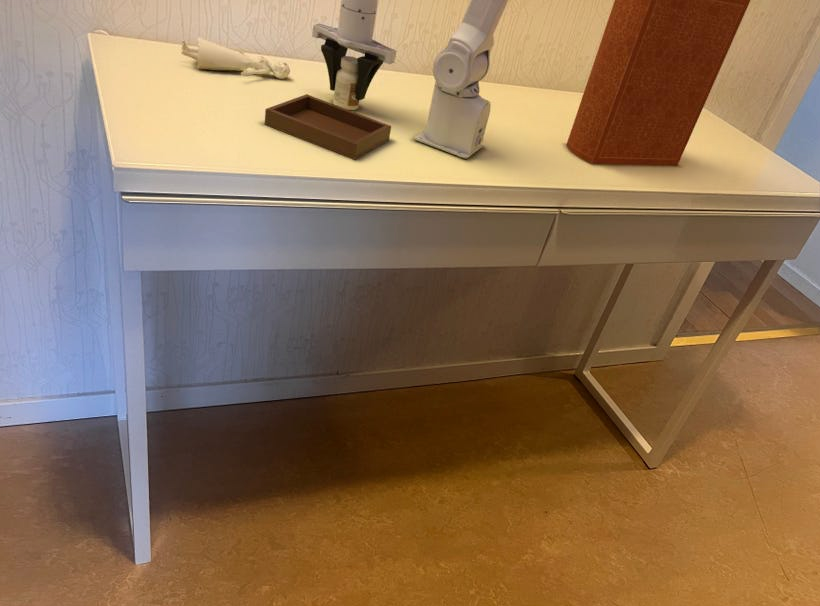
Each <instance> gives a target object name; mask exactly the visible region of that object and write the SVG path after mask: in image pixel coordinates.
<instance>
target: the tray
mask: <svg viewBox="0 0 820 606" xmlns="http://www.w3.org/2000/svg"><path fill="white" fill-rule="evenodd" d="M264 111H265V114H264V125H265V126H267V127H270V128H273V129H276V130H277V131H280V132H283V133H286V134H288V135H291V136H292V137H296V138H298V139H301V140H303V141H306V142H308V143H310V144H314V145H317V146H319V147H321V148H324V149H326V150H329V151H331V152H334V153H337V154H339V155H342V156H344V157H347V158H349V159H352V160H357V159H358V158H360V157H362V156H363V155H365V154H367V153H369V152H371V151H373V150H374V149H376V148H379V147H380V146H382V145H383V144H385V143H387V142H389V141H390V138H391V137H390V136H391V131H392V125H390V124H387V123H384V122H382V121H380V120H377V119H374V118H371V117H369V116H366V115H363V114H361V113H358V112H355V111H354V110H347V109H345V108H342V107H339V106H337V105H335V104H334V103H331V102H328V101H326V100H323V99H322V98H318V97H315V96H313V95H310V94H307V93H306V94H303V95H300V96H298V97H295V98H292V99H289V100H286V101H283V102H281V103H278V104H275V105H272V106H269V107H268V108H265V110H264Z"/></svg>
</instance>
